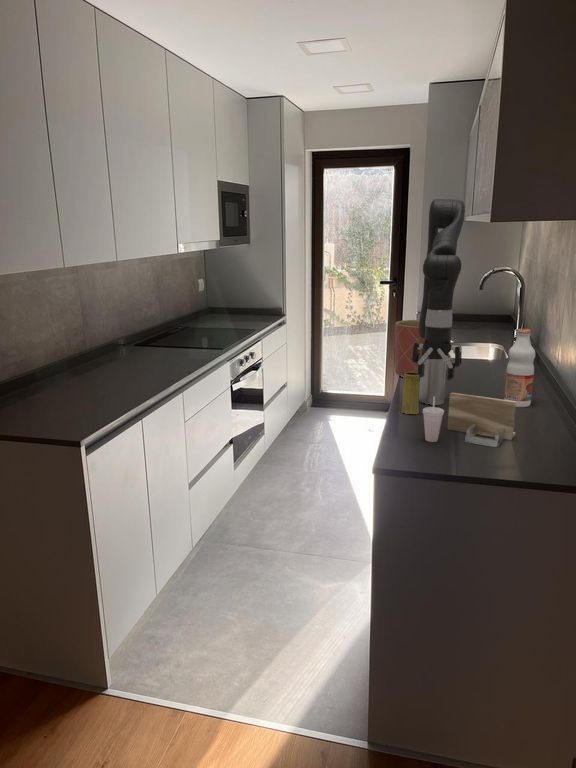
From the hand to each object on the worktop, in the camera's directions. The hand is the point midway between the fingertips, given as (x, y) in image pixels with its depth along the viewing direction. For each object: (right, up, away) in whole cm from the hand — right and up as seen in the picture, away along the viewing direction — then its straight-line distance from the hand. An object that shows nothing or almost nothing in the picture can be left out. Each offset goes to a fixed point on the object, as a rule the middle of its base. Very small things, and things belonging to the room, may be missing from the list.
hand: (435, 378), depth 177 cm
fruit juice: (+41, -9, +43) cm, 60 cm away
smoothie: (0, -19, +5) cm, 20 cm away
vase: (-1, -12, +33) cm, 35 cm away
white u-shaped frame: (+16, -19, +4) cm, 25 cm away
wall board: (+17, -17, +12) cm, 27 cm away
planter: (+14, +2, +88) cm, 89 cm away
